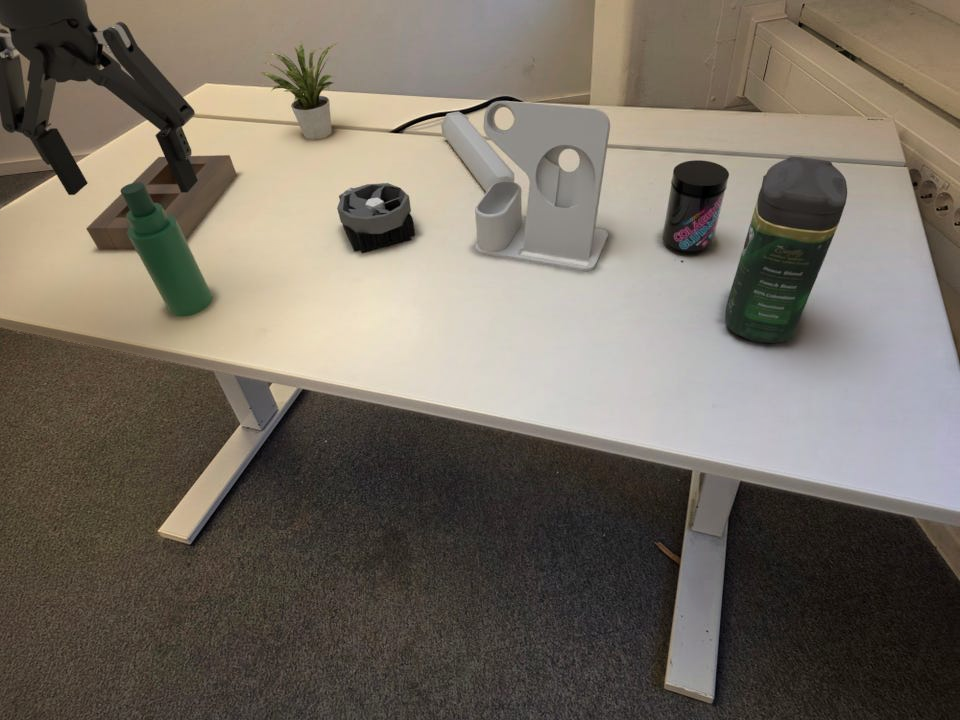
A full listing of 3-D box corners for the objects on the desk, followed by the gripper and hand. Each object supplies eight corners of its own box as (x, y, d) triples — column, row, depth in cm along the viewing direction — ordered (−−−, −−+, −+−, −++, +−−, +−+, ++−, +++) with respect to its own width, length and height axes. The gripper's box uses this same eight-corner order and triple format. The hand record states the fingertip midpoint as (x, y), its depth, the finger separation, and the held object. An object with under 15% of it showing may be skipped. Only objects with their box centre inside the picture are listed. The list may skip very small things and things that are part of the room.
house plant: (334, 111, 125) (313, 24, 114) (372, 129, 117) (355, 38, 106) (272, 135, 118) (244, 45, 107) (309, 155, 111) (283, 61, 99)
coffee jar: (793, 353, 67) (855, 202, 54) (719, 337, 69) (761, 190, 57) (798, 301, 73) (854, 154, 60) (729, 288, 76) (769, 145, 63)
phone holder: (470, 253, 85) (459, 127, 72) (495, 216, 91) (489, 95, 79) (592, 274, 79) (602, 142, 67) (609, 233, 86) (622, 106, 74)
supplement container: (658, 253, 82) (670, 182, 75) (663, 227, 86) (675, 158, 79) (710, 260, 80) (728, 188, 73) (713, 232, 85) (730, 162, 77)
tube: (525, 173, 92) (471, 113, 109) (493, 170, 90) (444, 109, 107) (515, 205, 95) (465, 142, 113) (484, 203, 93) (438, 138, 110)
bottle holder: (99, 251, 92) (85, 228, 89) (168, 177, 108) (158, 156, 105) (180, 251, 90) (168, 227, 87) (237, 176, 106) (229, 155, 104)
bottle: (162, 317, 79) (96, 200, 67) (181, 291, 83) (121, 176, 71) (202, 318, 78) (143, 200, 66) (219, 291, 82) (166, 175, 70)
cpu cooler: (416, 206, 84) (345, 224, 82) (422, 241, 88) (354, 260, 85) (395, 175, 91) (329, 191, 89) (401, 208, 95) (338, 225, 93)
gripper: (171, -49, 55) (249, 169, 70) (-72, -32, 58) (52, 174, 73) (130, -29, 50) (224, 202, 64) (-136, -11, 53) (12, 206, 67)
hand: (133, 188), depth 69 cm, fingers open, 13 cm apart
